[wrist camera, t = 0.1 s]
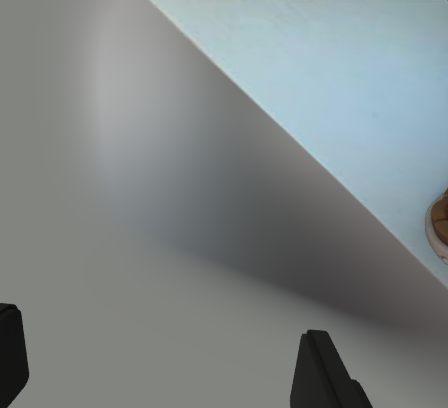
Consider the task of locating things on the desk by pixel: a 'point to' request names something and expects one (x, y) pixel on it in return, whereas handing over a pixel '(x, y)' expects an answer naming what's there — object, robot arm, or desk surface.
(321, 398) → the robot arm
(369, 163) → the desk surface
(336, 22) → the desk surface
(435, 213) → the flowerpot
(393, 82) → the desk surface
